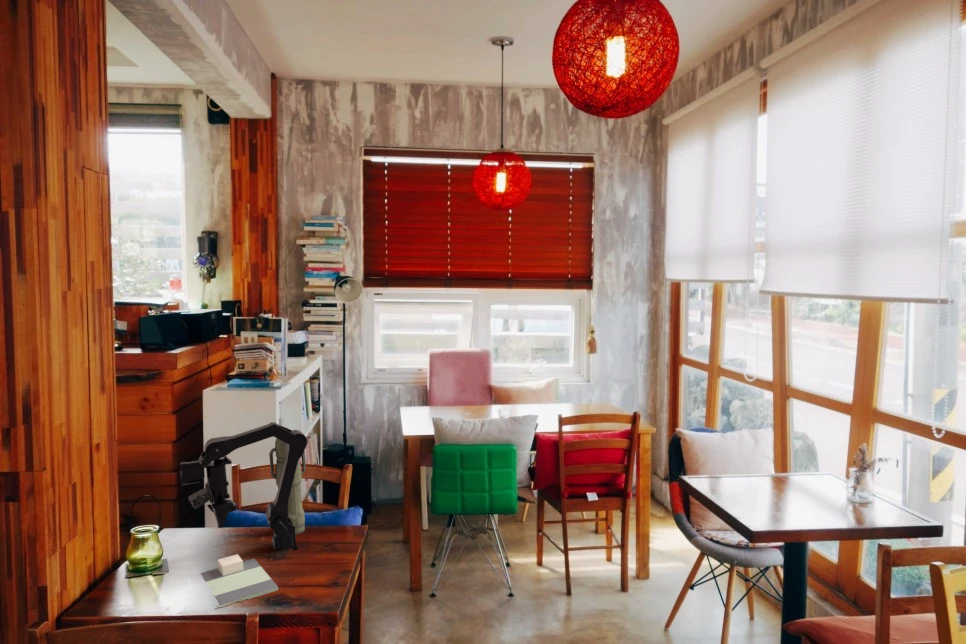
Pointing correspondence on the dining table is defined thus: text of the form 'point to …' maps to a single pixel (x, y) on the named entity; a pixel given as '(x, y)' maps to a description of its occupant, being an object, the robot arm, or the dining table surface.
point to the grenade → (295, 496)
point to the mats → (242, 591)
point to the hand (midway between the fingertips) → (220, 527)
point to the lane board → (240, 583)
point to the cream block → (230, 565)
